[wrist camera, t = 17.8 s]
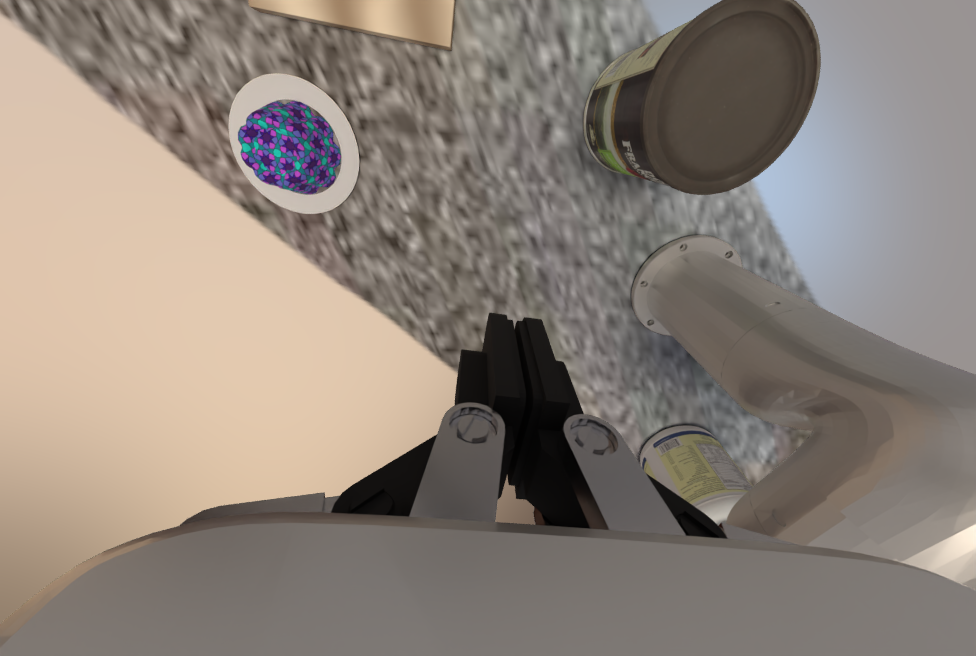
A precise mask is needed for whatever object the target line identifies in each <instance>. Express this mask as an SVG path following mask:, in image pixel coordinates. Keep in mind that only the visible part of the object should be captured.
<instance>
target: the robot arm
mask: <svg viewBox="0 0 976 656" xmlns="http://www.w3.org/2000/svg"><path fill="white" fill-rule="evenodd" d="M631 302H632V307H633V310H634V313H635V315H636V317H637V318H638V319H639V320H640V322H641V323H642V324H643V325H644V326H645V327H646V328H648V329H649V330H651V331H653V332H655V333H658V334H661V335H668V336H673V337H674V338H675V339H676V340H677V341H678V342H679V343H680V344H681V345H682V346H683V347H684V349H685V350H686V351H687V352H688V353H689V354H690V355H691V356H692V357H693V358H694V359H695V360H696V361H697V362H698V363H699V364H700V365H701V366H702V367H703V368H704V369H705V370H706V371H707V373H708V374H709V375H710V376H711V377H712V378H713V379H714V380H715V381H716V382H717V383H718V384H719V385H720V386H721V387H722V388H723V389H724V390H725V391H726V392H727V393H728V394H729V395H730V396H731V397H732V398H733V399H734V400H735V401H736V402H737V403H738V404H739V405H740V406H741V407H742V408H743V409H745V410H746V411H747V412H749V413H750V414H752V415H754V416H756V417H758V418H760V419H762V420H764V421H767V422H770V423H773V424H777V425H780V426H784V427H790V428H795V429H802V430H809V431H813V433H812V434H811V435H810V437H809V438H808V439H807V440H806V441H805V442H804V443H803V444H801V445H800V446H799V447H798V448H797V449H796V451H795V452H794V453H793V454H792V455H790V456H789V457H788V458H787V459H786V460H784V461H783V462H782V463H781V464H780V465H778V466H777V467H776V468H775V469H774V470H773V471H771V472H770V473H769V474H768V475H767V476H765V477H764V478H763V479H762V480H761V481H759V482H758V483H757V484H756V485H755V486H754V487H753V488H752V489H751V490H749V491H748V492H747V493H746V494H745V495H744V496H743V497H742V498H741V499H740V500H739V501H738V502H737V503H736V504H735V505H734V506H733V508H732V509H731V511H730V513H729V515H728V517H727V521H726V524H725V523H722V522H721V523H720V524H719V526H718V525H717V524H716V523H715V522H714V521H713V520H712V519H711V518H709V517H708V516H707V515H706V514H705V513H703V512H702V511H700V510H699V509H698V508H696V507H695V506H693V505H692V504H690V503H689V502H687V501H686V500H684V499H683V498H681V497H680V496H679V495H677V494H676V493H674V492H673V491H671V490H670V489H668V488H667V487H665V486H664V485H663V484H661V483H660V482H658V481H657V480H655V479H654V478H652V477H651V476H649V475H648V474H647V473H645V471H644V470H643V468H642V467H641V465H640V464H639V462H638V461H637V459H636V458H635V456H634V455H633V453H632V451H631V450H630V448H629V447H628V445H627V444H626V442H625V441H624V439H623V438H622V436H621V435H620V434H619V432H618V431H617V430H616V429H615V428H614V427H613V426H612V425H610V424H609V423H608V422H606V421H604V420H602V419H600V418H598V417H595V416H592V415H586V414H583V411H582V408H581V406H580V403H579V400H578V398H577V395H576V392H575V390H574V387H573V384H572V382H571V379H570V376H569V374H568V371H567V368H566V366H565V364H564V362H562V361H556V360H555V357H554V354H553V351H552V348H551V345H550V342H549V339H548V336H547V334H546V331H545V328H544V325H543V322H542V320H541V319H533V318H525V317H524V318H523V321H517V322H516V326H515V330H514V325H513V320H507V315H502V314H495V313H489V316H488V321H487V326H486V332H485V338H484V343H483V349H482V352H479V351H470V350H461V356H460V362H459V369H458V377H457V385H456V394H455V406H453V407H452V408H450V409H449V410H448V411H447V412H446V413H445V415H444V417H443V419H442V422H441V425H440V428H439V431H438V434H437V435H436V436H434V437H432V438H430V439H429V440H427V441H425V442H424V443H422V444H420V445H419V446H417V447H415V448H413V449H412V450H410V451H409V452H407V453H406V454H404V455H402V456H400V457H399V458H397V459H395V460H393V461H392V462H390V463H388V464H387V465H385V466H384V467H382V468H380V469H378V470H377V471H375V472H373V473H372V474H370V475H368V476H367V477H365V478H363V479H362V480H360V481H359V482H357V483H355V484H353V485H352V486H351V487H349V488H348V489H347V490H346V491H344V492H343V493H342V494H341V495H340V496H335V497H327V498H325V493H316V494H308V495H301V496H294V497H285V498H277V499H270V500H262V501H255V502H246V503H239V504H231V505H224V506H218V507H214V508H210V509H207V510H203V511H201V512H199V513H198V514H196V515H194V516H192V517H190V518H188V519H187V520H185V521H184V522H183V523H182V524H181V525H180V526H177V527H174V528H170V529H166V530H162V531H158V532H155V533H151V534H149V535H146V536H143V537H140V538H137V539H134V540H131V541H129V542H126V543H123V544H121V545H119V546H116V547H114V548H111V549H109V550H106V551H104V552H102V553H100V554H98V555H96V556H95V557H92V558H90V559H88V560H86V561H84V562H82V563H81V564H79V565H77V566H76V567H74V568H73V569H71V570H69V571H68V572H66V573H65V574H64V575H62V576H60V577H59V578H57V579H56V580H54V581H53V582H51V583H50V584H49V585H47V586H46V587H45V588H43V589H42V590H41V591H39V592H38V593H37V594H36V595H34V596H33V597H32V598H30V599H29V600H28V601H27V602H25V603H24V604H23V605H22V606H21V607H19V608H18V609H17V610H16V611H15V612H13V613H12V614H11V615H10V616H9V617H8V618H6V619H5V620H4V621H3V622H1V624H0V656H976V375H975V374H972V373H969V372H967V371H964V370H961V369H958V368H956V367H953V366H950V365H947V364H945V363H942V362H939V361H937V360H934V359H932V358H929V357H927V356H924V355H922V354H919V353H916V352H914V351H911V350H909V349H906V348H904V347H901V346H899V345H897V344H895V343H893V342H891V341H888V340H886V339H884V338H882V337H880V336H878V335H876V334H873V333H871V332H869V331H867V330H865V329H862V328H860V327H858V326H856V325H854V324H852V323H850V322H848V321H846V320H844V319H842V318H840V317H838V316H836V315H834V314H832V313H830V312H828V311H826V310H824V309H822V308H820V307H818V306H816V305H814V304H812V303H811V302H809V301H807V300H805V299H803V298H801V297H799V296H797V295H795V294H793V293H791V292H789V291H787V290H785V289H783V288H781V287H779V286H777V285H775V284H773V283H771V282H769V281H767V280H765V279H763V278H761V277H759V276H757V275H755V274H753V273H751V272H749V271H748V270H746V269H744V268H743V265H742V262H741V258H740V256H739V255H738V253H737V251H736V250H735V249H734V248H733V247H732V246H731V245H730V244H728V243H726V242H724V241H723V240H720V239H718V238H715V237H712V236H706V235H692V236H688V237H683V238H680V239H677V240H675V241H672V242H670V243H668V244H667V245H665V246H663V247H662V248H660V249H659V250H658V251H656V252H655V253H654V254H653V255H652V256H651V257H650V258H649V259H648V260H647V261H646V262H645V263H644V264H643V266H642V267H641V269H640V271H639V272H638V274H637V276H636V278H635V281H634V283H633V287H632V292H631ZM507 474H508V483H509V485H514V486H515V492H516V499H526V500H527V501H529V502H530V503H531V504H532V505H533V506H534V512H533V513H534V521H535V524H536V525H530V524H514V523H499V522H495V519H496V510H497V501H498V499H499V498H500V497H501V495H502V491H503V487H504V483H505V480H506V476H507Z"/></svg>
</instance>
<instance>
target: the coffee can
mask: <svg viewBox="0 0 976 656" xmlns="http://www.w3.org/2000/svg"><path fill="white" fill-rule="evenodd" d="M820 58H821V57H820V45H819V40H818V35H817V32H816V29H815V26H814V24H813V22H812V20H811V19H810V17H809V15H808V14H807V13H806V12H805V10H804V9H803V7H801V6H800V5H799V4H798V3H797V2H796V1H794V0H722V1H720V2H719V3H717V4H715V5H713V6H712V7H710V8H709V9H707V10H705V11H704V12H702V13H701V14H700V15H698V16H697V17H696V18H694V19H693V20H691V21H689V22H687V23H685V24H683V25H681V26H679V27H677V28H675V29H674V30H672V31H670V32H668V33H666V34H664V35H662V36H661V37H659V38H657V39H655V40H653V41H651V42H649V43H647V44H645V45H643V46H641V47H640V48H638V49H635V50H632V51H630V52H627V53H626V54H624V55H622V56H620V57H619V58H617V59H616V60H615V61H613V62H612V63H611V64H610V65H609V66H608V67H607V68H606V69H605V70H604V71H603V72H602V74H601V75H600V76H599V77H598V79H597V81H596V82H595V84H594V86H593V87H592V89H591V91H590V94H589V97H588V99H587V102H586V107H585V111H584V121H583V127H584V136H585V141H586V144H587V146H588V149H589V151H590V152H591V154H592V156H593V157H594V158H595V160H596V161H597V162H598V163H599V164H601V165H602V166H603V167H604V168H606V169H608V170H610V171H613V172H617V173H624V174H627V175H631V176H635V177H639V178H642V179H646V180H649V181H653V182H657V183H661V184H664V185H667V186H671V187H672V188H674V189H677V190H679V191H682V192H685V193H690V194H697V195H710V194H716V193H722V192H725V191H729V190H731V189H734V188H736V187H739V186H741V185H743V184H744V183H746V182H748V181H750V180H751V179H753V178H755V177H756V176H758V175H759V174H760V173H761V172H763V171H764V170H765V169H767V168H768V167H769V166H770V165H771V164H772V163H773V162H774V161H775V160H776V159H777V158H778V157H779V156H780V155H781V154H782V153H783V152H784V150H785V149H786V148H787V147H788V146H789V145H790V143H791V142H792V140H793V139H794V138H795V136H796V134H797V133H798V131H799V130H800V128H801V126H802V125H803V123H804V121H805V119H806V117H807V115H808V112H809V110H810V108H811V106H812V103H813V99H814V97H815V93H816V90H817V86H818V80H819V74H820V65H821V59H820Z"/></svg>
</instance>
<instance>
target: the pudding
mask: <svg viewBox="0 0 976 656" xmlns="http://www.w3.org/2000/svg"><path fill="white" fill-rule="evenodd" d="M282 99H290V100H296V101H291V102H289V103H287V104H285V105H284V104H282V103H280V102H278V101H277V102H274V101H276V100H282ZM297 101H299V102H297ZM271 102H272V103H271ZM303 103H304V104H303ZM305 104H307V105H309V106H310V107H312V108H313V109H315V110H316V111H318V112H319V113H320V114H321V115H322V116H323V117H324V118H325V119H326V120H327V121H326V120H325V119H324V118H322V117H317V116H314V115H313V113H312V112H311V110H310V108H309V107H308V106H307V105H305ZM329 124H330V125H329ZM330 126H331V127H332V129H333V130H334V132H335V134H336V136H337V139H338V141H339V145H340V148H341V154H340V149H339V148H338V146H337V145H336V144H335V143H334V142H333V131H332V129H331V127H330ZM229 136H230V142H231V146H232V149H233V153H234V155H235V157H236V160H237V162H238V164H239V166H240V168H241V169H242V171H243V173H244V174H245V176H246V177H247V178H248V180H249V181H250V182H251V183H252V185H253V186H254V187H255V188H256V189H257V190H258V191H259V192H260V193H261V194H263V195H264V196H265V197H267V198H268V199H269V200H271V201H272V202H274V203H276V204H277V205H279V206H281V207H283V208H286V209H288V210H291V211H294V212H299V213H304V214H316V213H323V212H326V211H329V210H332V209H334V208H335V207H337V206H339V205H340V204H341V203H342V202H343V201H345V200H346V199H347V197H348V196H349V195H350V193H351V192H352V190H353V188H354V186H355V183H356V180H357V176H358V172H359V153H358V146H357V142H356V139H355V135H354V133H353V130H352V128H351V126H350V123H349V122H348V120H347V118H346V117H345V115H344V113H343V112H342V111H341V109H340V108H339V107H338V106H337V104H336V103H335V102H334V101H333V100H332V99H331V98H330V97H329V96H328V95H327V94H326V93H325V92H324V91H322V90H321V89H319V88H318V87H316V86H315V85H314V84H312V83H310V82H308V81H306V80H304V79H302V78H299V77H296V76H292V75H288V74H278V73H274V74H267V75H262V76H260V77H257V78H255V79H253V80H251V81H250V82H248V83H247V84H246V85H244V86H243V88H242V89H241V90H240V91H239V92H238V94H237V95H236V97H235V99H234V101H233V103H232V107H231V110H230V114H229ZM341 155H342V165H341V170H340V173H339V176H338V178H337V180H336V181H335V183H334V184H333V182H334V180H335V178H336V175H335V168H336V167H337V166H338V165H339V164H340V161H341ZM331 184H333V185H332V186H331V187H330V188H329V189H327V190H325V191H324V192H322V193H319V194H314V195H302V194H298V193H294V192H292V191H295V192H300V193H305V194H313V193H316V192H317V190H318V188H319V187H329V186H330V185H331Z"/></svg>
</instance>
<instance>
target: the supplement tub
mask: <svg viewBox="0 0 976 656" xmlns="http://www.w3.org/2000/svg"><path fill="white" fill-rule="evenodd" d="M640 464H641V467H642V468H643V470H644V471H645V473H647V474H648V475H649V476H651V477H652V478H654V479H655V480H657V481H658V482H660V483H661V484H663V485H664V486H665V487H667V488H668V489H670V490H671V491H673V492H674V493H676V494H677V495H679V496H680V497H681V498H683V499H684V500H686V501H687V502H689V503H690V504H692V505H693V506H695V507H696V508H698V509H699V510H700V511H702V512H703V513H705V514H706V515H707V516H708V517H709V518H711V519H712V520H713V521H714V522H715V523H716V524H717V525H718V526H719V524H720V523H721V522H722V523H725V524H726V521H727V517H728V515H729V513H730V511H731V509H732V508H733V506H734V505H735V504H736V503H737V502H738V501H739V500H740V499H741V498H742V497H743V496H744V495H745V494H746V493H747V492H748V491H749V490H751V489H752V488H753V485H752V484H751V483H750V482H749V480H748V479H747V478H746V477H745V475H744V474H743V473H742V472H741V470H740V469H739V468H738V466H737V465H736V464H735V463H734V461H733V460H732V459H731V457H730V456H729V455H728V454H727V452H726V451H725V450H724V448H723V447H722V446H721V445H720V443H719V442H718V440H717V439H716V438H715V437H714V436H713V435H712V434H711V433H710V432H708V431H706V430H704V429H702V428H699V427H695V426H676V427H671V428H668V429H665V430H663V431H661V432H659V433H657V434H656V435H654V436H653V437H652V438H651V439H650V440H649V441H648V442H647V443H646V444H645V446H644V447H643V449H642V452H641V455H640Z"/></svg>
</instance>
